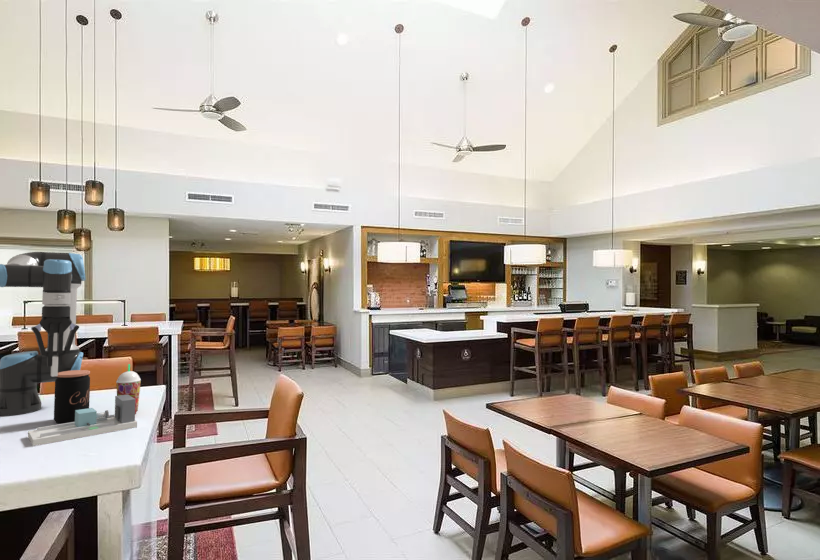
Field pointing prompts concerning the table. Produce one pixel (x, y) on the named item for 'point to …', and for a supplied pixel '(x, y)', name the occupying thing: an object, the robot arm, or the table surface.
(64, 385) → the coffee jar
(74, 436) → the board
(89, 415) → the gauge slider
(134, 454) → the table surface
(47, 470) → the table surface
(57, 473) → the table surface
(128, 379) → the smoothie
